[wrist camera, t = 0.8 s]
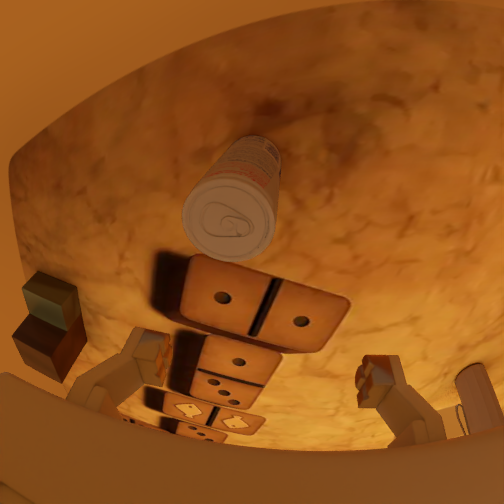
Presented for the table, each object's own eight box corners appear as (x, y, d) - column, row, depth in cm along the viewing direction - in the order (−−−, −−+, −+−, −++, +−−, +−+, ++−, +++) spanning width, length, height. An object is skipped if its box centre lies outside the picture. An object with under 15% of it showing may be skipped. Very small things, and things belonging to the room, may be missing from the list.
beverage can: (218, 146, 30) (163, 198, 17) (269, 126, 28) (252, 162, 15) (239, 193, 32) (205, 274, 19) (289, 176, 31) (289, 250, 18)
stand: (37, 270, 42) (0, 310, 33) (76, 286, 43) (40, 332, 33) (51, 325, 50) (24, 363, 40) (87, 341, 50) (61, 383, 41)
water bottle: (475, 357, 42) (513, 470, 21) (489, 366, 44) (524, 467, 22) (440, 384, 47) (466, 495, 25) (456, 391, 48) (481, 491, 27)
